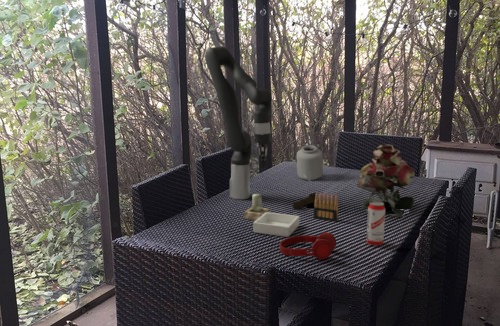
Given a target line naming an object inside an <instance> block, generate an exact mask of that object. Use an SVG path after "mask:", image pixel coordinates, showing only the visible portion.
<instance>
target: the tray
mask: <svg viewBox="0 0 500 326" xmlns="http://www.w3.org/2000/svg"><path fill="white" fill-rule="evenodd" d="M300 219H301V218H300V215H293V214H292V215H291V214H285V213H277V212H270V211H269V212H265V213H264V214H263V215H262V216H261V217H259V218H258V219H257V220H254V221H253V222H252V229H253V230H252V232H253V233H256V234H264V235H272V236H279V237H286V238H290V236H292V234H293V233H294V232H295V231H296V230H297V228H299V226H300Z"/></svg>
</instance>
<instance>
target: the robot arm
mask: <svg viewBox="0 0 500 326" xmlns="http://www.w3.org/2000/svg"><path fill="white" fill-rule="evenodd" d="M204 59H205V63H206V66H207V68H208V71H209V73H210V77H211V79H212V82H213V85H214V86H213V87H214V89H215V92H216V97H217V101H218V104H219V105H218V106H219V107H220V111H221V115H222V118H223V122H224V125H225V130H226V136H227V142H228V145H229V147H230V149H231V150H233V153H232V156H231V159H230V172H231V173H230V176H231V177H230V178H229V198H231V199H234V200H247V199H249V198H250V196H251V195H250V194H251V193H250V191H251V190H250V189H251V188H250V187H251V185H250V181H251V180H250V179H251V177H250V176H251V175H250V170H251V169H250V163H251V162H250V161H251V158H252V137H251V135H250V133H249V132H247V131H245V130H242V128H241V125H240V118H239V114H240V103H239V99H238V96H237V95H238V94H237V91H236V90H235V88H234V87H233V86H232V84H231V83H230V82H229V80H227V78H226V77H225V75H224V72H223V70H222V66H223V67H225V68H227V69H228V70H229V71H230V73H231V75H232V78H233V81H234V82H235V84H236V85H237V86H238V87H239V88H240V89H241V90H242V91H243V92H244V93H245V95H246V96H247V98H248V100H249V101H250V103H252V104H254V105H256V106H258V108H257V109H256V110H255V111H254V112H253V119H254V120H253V121H254V124H253V125H254V126H253V131H254V133H253V134H254V143H255V144H260V145H258V153H259V154H258V155H259V159H260V168H261V169H266V168H267V156H268V145H267V144H268V143H271V141H272V138H271V124H270V111H271V107H272V100H273V99H272V98H273V97H272V92H271V91H270V89H268V88H259V89H258V88H257V85H258V83H257V82H256V80H255V79H254V78H253V77H252V76H250V74H249V73H247V72H246V71H245V70H244V69H243V68H242V67H241V65H240V64H239V63H238V60H236V59H235V57H234V56H233V55H232V54H231V52H230V50H228V48H226V47H225V46H222V45H221V46H220V45H219V46H212V47H208V48H207V49H206V50H205V52H204Z"/></svg>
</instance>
